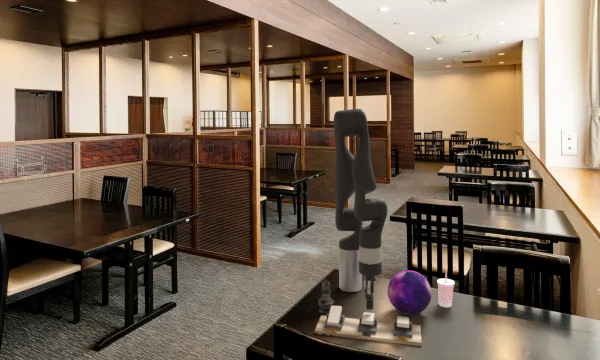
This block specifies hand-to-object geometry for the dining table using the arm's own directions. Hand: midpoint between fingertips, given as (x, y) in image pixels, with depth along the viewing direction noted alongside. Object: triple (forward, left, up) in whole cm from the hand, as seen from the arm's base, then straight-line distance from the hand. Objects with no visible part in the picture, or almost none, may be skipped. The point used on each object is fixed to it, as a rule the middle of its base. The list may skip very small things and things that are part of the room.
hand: (369, 308), depth 135 cm
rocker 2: (+3, 0, -2) cm, 4 cm away
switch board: (+4, 0, -6) cm, 7 cm away
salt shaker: (-7, -16, -6) cm, 19 cm away
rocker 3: (+3, +11, -2) cm, 11 cm away
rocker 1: (+3, -11, -2) cm, 12 cm away
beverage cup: (-21, +26, -6) cm, 34 cm away
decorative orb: (-12, +13, -6) cm, 19 cm away
